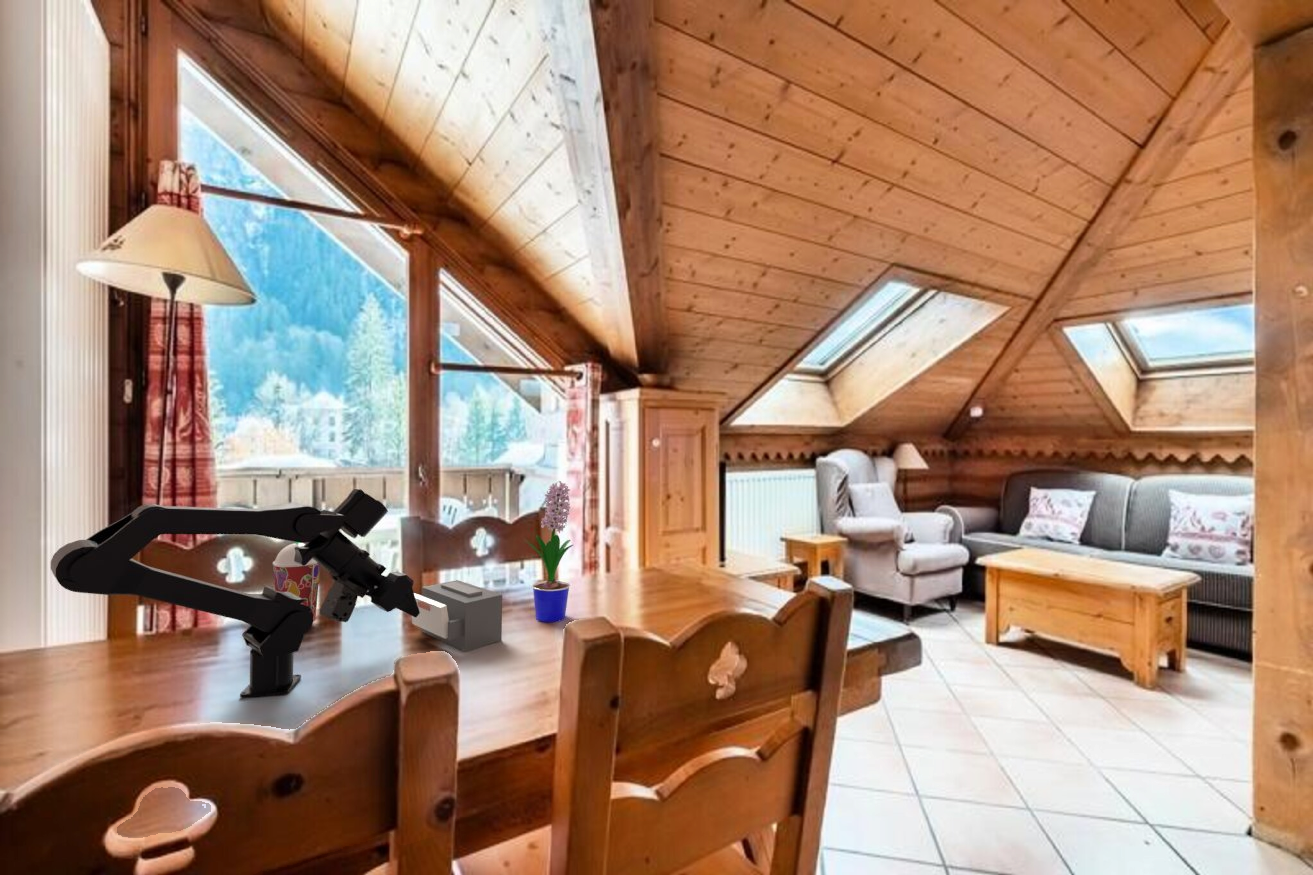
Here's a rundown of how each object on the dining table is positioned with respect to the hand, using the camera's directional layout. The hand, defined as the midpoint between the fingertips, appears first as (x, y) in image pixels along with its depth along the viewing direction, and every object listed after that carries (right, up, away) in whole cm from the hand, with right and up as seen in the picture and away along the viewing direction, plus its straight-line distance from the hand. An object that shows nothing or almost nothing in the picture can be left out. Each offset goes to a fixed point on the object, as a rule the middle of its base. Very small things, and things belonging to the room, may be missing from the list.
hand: (405, 609), depth 110 cm
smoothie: (-27, -7, +12) cm, 30 cm away
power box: (+7, -8, +8) cm, 13 cm away
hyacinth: (+22, -8, +21) cm, 32 cm away
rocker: (+3, -5, +4) cm, 7 cm away
